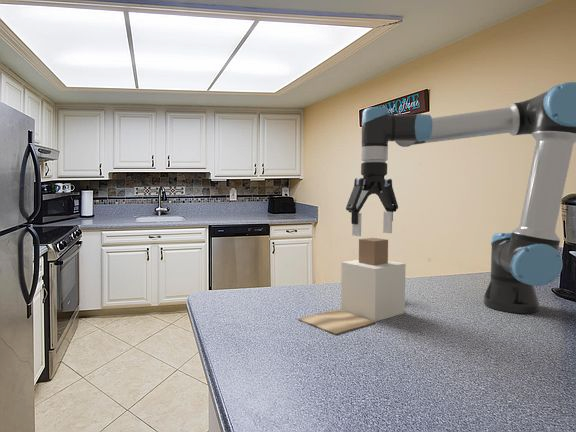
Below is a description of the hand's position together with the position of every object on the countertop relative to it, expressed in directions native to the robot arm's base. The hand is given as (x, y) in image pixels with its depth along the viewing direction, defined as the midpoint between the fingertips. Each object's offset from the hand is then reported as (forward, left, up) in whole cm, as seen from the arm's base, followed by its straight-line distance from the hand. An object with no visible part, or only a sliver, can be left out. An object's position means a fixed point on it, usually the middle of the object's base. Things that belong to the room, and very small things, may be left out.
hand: (372, 234), depth 122 cm
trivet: (0, +15, -23) cm, 28 cm away
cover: (0, 0, -23) cm, 23 cm away
